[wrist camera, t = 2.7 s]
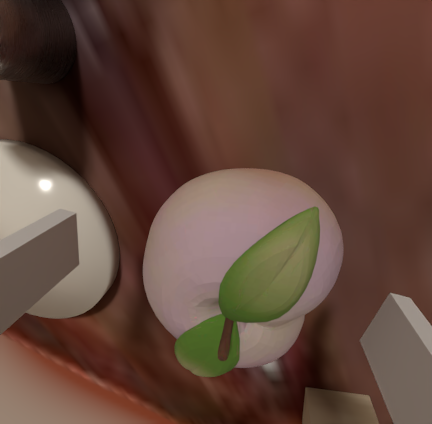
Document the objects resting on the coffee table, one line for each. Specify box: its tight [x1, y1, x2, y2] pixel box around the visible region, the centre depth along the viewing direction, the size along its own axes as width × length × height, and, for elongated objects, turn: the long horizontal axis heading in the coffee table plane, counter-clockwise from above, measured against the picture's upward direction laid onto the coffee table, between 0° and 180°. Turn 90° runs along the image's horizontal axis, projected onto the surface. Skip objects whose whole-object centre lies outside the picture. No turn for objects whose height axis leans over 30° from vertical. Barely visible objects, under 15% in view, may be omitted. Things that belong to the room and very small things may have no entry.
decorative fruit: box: [143, 168, 343, 377], centre depth 12 cm, size 9×8×10 cm
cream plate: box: [0, 139, 120, 318], centre depth 20 cm, size 15×15×2 cm
